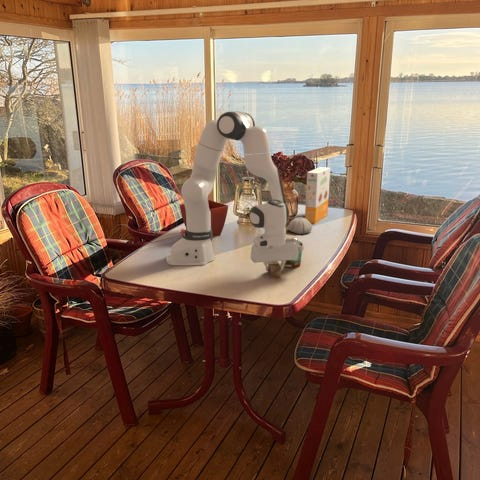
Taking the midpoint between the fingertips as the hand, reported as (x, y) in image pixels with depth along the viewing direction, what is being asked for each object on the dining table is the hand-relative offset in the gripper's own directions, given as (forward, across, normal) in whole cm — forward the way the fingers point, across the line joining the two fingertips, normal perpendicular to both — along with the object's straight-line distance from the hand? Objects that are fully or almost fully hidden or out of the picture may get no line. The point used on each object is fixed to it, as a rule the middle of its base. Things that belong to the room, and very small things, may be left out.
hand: (274, 270), depth 201 cm
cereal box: (+2, -52, -82) cm, 97 cm away
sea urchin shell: (+2, -33, -59) cm, 68 cm away
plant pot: (+2, +20, -63) cm, 66 cm away
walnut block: (+2, 0, 0) cm, 2 cm away
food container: (+2, -12, -8) cm, 15 cm away
